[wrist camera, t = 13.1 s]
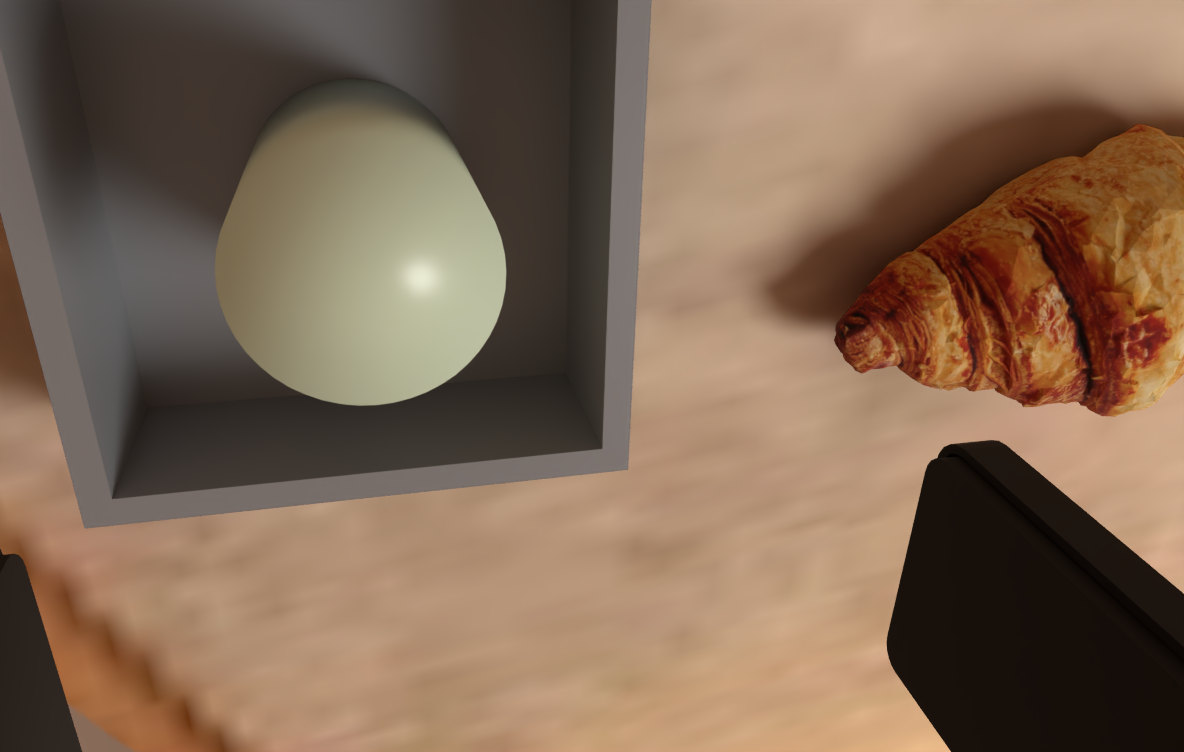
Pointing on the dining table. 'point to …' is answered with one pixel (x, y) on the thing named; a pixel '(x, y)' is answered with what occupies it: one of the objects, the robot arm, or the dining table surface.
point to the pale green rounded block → (359, 248)
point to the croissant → (1045, 286)
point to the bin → (203, 197)
